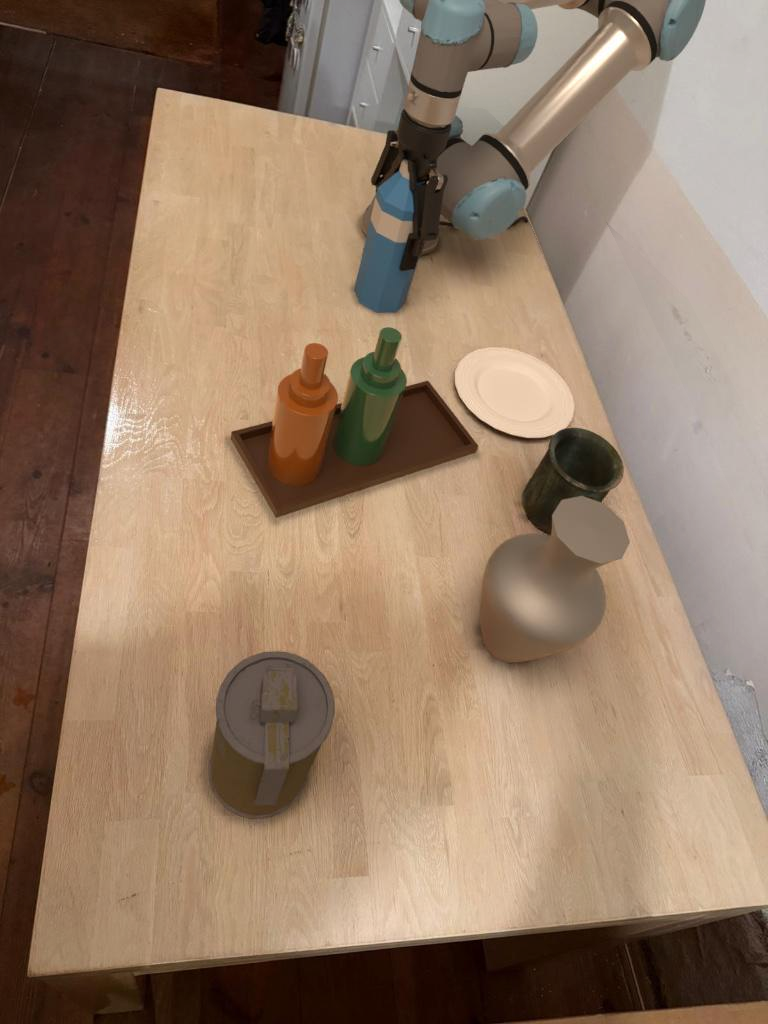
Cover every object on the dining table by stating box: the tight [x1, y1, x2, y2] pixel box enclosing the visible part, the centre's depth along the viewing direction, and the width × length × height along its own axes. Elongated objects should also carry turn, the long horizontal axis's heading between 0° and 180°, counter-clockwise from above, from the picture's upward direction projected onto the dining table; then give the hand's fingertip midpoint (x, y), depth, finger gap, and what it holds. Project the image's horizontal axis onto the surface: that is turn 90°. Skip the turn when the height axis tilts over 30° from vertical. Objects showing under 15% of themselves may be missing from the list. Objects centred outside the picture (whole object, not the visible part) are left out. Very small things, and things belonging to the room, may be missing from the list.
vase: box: [479, 496, 631, 664], centre depth 85 cm, size 14×14×25 cm
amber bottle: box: [267, 342, 339, 486], centre depth 96 cm, size 8×8×21 cm
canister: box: [208, 650, 336, 820], centre depth 71 cm, size 11×10×20 cm
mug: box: [521, 427, 625, 535], centre depth 105 cm, size 11×15×12 cm
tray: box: [230, 380, 479, 518], centre depth 108 cm, size 34×15×2 cm, turn 121°
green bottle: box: [333, 326, 408, 466], centre depth 100 cm, size 8×8×21 cm
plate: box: [454, 346, 576, 439], centre depth 123 cm, size 21×21×2 cm
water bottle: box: [353, 159, 425, 314], centre depth 122 cm, size 9×9×25 cm
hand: (391, 250), depth 124 cm, fingers closed on water bottle, 9 cm apart
